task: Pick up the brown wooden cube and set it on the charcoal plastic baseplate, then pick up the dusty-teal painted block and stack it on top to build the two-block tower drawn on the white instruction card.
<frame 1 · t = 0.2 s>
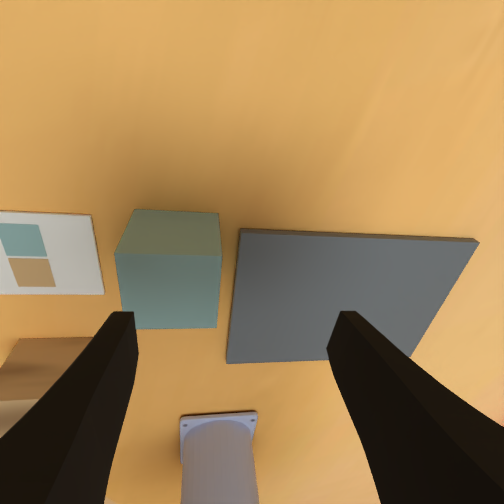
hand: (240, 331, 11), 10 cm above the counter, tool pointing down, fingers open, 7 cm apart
baseplate: (340, 302, 25), on the counter
brown wooden cube: (64, 358, 24), on the counter
instruction card: (29, 255, 19), on the counter
teal block: (178, 245, 20), on the counter
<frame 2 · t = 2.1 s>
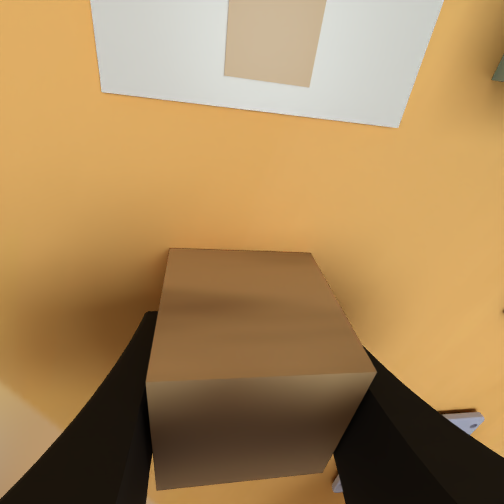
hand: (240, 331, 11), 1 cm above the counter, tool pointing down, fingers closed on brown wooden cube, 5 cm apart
brown wooden cube: (236, 304, 12), on the counter, touching gripper
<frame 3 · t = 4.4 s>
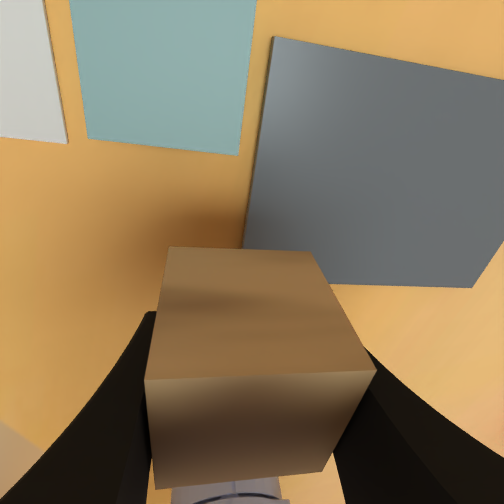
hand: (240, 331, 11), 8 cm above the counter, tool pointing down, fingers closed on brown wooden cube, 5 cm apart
baseplate: (396, 194, 18), on the counter
brown wooden cube: (235, 302, 12), point 7 cm above the counter, touching gripper
teal block: (177, 61, 13), on the counter
when the fingers open (3 cm above the counter, at t = 6.6 s): brown wooden cube drops 1 cm, resting on baseplate.
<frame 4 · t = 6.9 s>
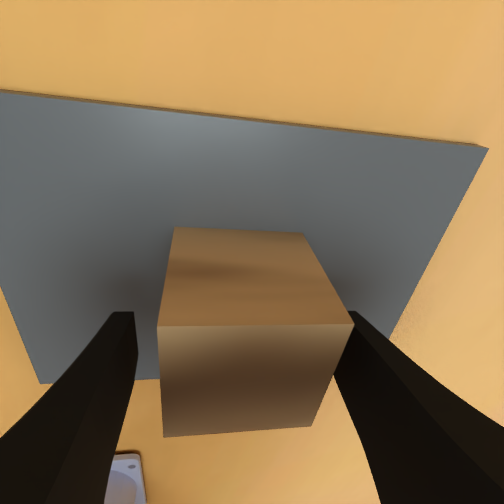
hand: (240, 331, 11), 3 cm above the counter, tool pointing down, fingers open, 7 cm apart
baseplate: (232, 274, 13), on the counter
brown wooden cube: (234, 280, 13), point 1 cm above the counter, touching baseplate
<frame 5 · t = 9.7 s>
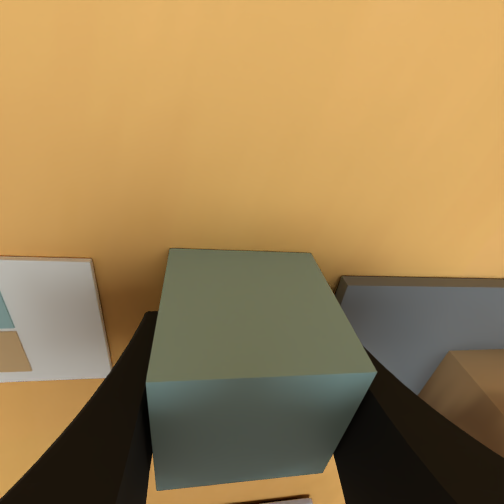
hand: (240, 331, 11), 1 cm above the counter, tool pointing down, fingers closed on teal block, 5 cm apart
baseplate: (457, 371, 17), on the counter
brown wooden cube: (467, 380, 16), point 1 cm above the counter, touching baseplate
teal block: (236, 304, 12), on the counter, touching gripper
when the fingers open (8 cm above the counter, at t = 13.4 s): teal block stays where it is, resting on brown wooden cube.
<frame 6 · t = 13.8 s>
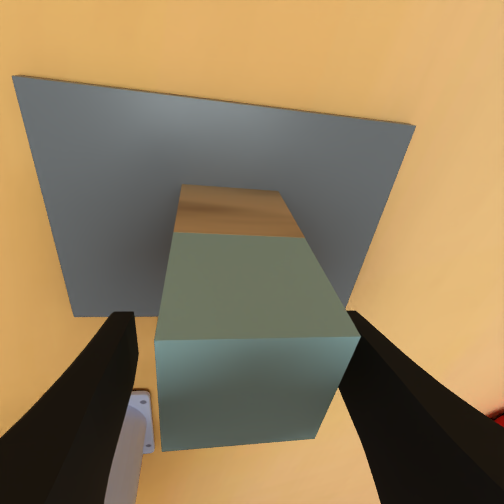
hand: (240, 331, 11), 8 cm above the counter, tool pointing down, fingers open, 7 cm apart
baseplate: (226, 226, 17), on the counter
brown wooden cube: (227, 230, 17), point 1 cm above the counter, touching baseplate, teal block
teal block: (235, 287, 13), point 6 cm above the counter, touching brown wooden cube
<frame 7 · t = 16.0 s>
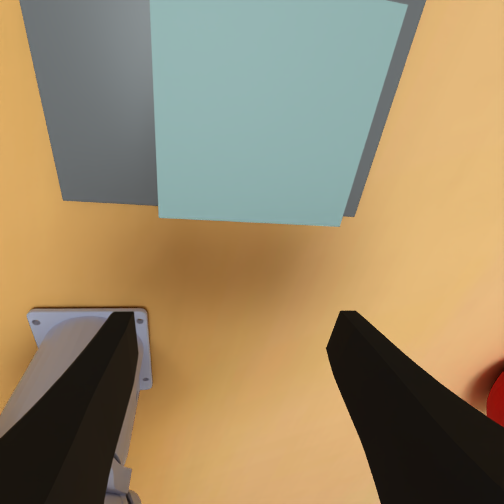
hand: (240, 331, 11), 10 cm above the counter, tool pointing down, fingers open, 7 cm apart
baseplate: (229, 91, 16), on the counter
teal block: (242, 101, 11), point 6 cm above the counter, touching brown wooden cube
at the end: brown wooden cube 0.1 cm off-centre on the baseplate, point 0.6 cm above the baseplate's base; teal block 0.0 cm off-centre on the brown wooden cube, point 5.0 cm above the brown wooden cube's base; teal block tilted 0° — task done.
